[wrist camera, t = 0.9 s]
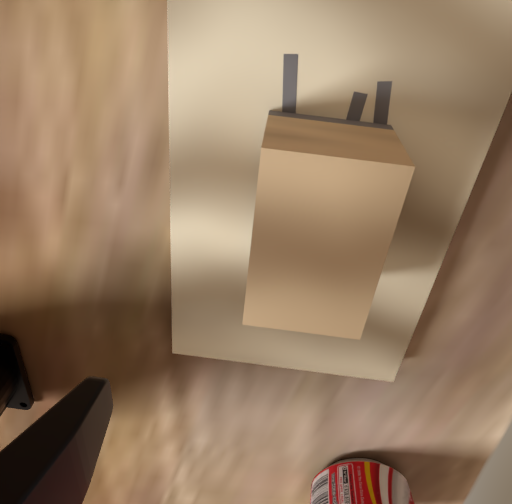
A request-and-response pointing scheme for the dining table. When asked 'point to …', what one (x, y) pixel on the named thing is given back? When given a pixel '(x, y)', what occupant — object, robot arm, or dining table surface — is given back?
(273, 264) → the block
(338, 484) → the soda can
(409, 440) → the dining table surface
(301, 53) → the board
